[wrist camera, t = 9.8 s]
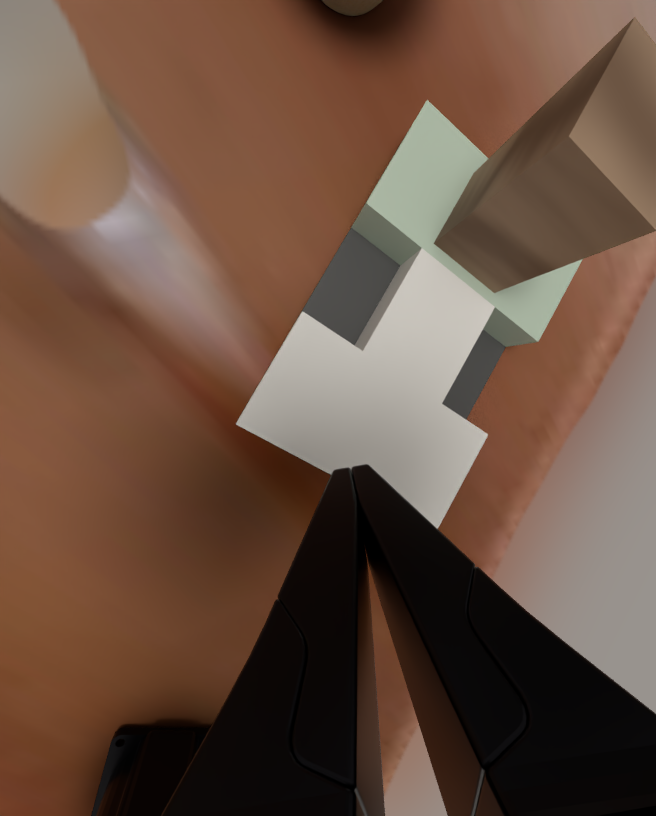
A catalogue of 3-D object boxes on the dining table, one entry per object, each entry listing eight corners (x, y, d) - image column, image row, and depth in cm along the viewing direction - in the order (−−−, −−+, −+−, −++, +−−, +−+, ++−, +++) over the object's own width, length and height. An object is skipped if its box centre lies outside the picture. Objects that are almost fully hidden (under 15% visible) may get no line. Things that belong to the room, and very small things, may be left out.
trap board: (412, 512, 22) (436, 530, 19) (238, 418, 19) (235, 424, 16) (545, 269, 24) (586, 252, 21) (402, 141, 20) (427, 100, 17)
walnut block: (494, 293, 19) (656, 230, 11) (433, 243, 18) (569, 136, 10) (531, 226, 20) (714, 120, 12) (473, 172, 18) (634, 17, 11)
